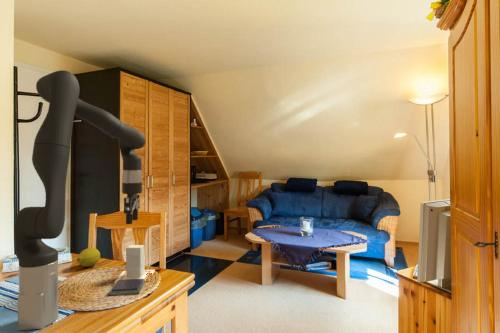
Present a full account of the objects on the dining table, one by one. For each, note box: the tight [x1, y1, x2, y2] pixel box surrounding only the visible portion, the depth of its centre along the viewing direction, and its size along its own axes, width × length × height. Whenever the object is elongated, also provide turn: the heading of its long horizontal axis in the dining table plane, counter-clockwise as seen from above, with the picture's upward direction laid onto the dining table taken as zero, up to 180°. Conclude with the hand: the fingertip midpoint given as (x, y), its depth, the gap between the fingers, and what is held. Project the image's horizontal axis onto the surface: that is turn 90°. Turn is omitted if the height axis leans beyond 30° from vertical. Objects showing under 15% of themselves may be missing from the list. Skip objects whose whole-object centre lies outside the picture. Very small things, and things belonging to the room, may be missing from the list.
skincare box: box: [125, 244, 146, 277], centre depth 118 cm, size 6×4×12 cm
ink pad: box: [108, 279, 146, 296], centre depth 107 cm, size 10×10×2 cm
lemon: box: [76, 247, 101, 268], centre depth 129 cm, size 11×8×8 cm
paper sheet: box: [113, 269, 156, 284], centre depth 118 cm, size 12×13×1 cm
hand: (132, 221), depth 117 cm, fingers open, 8 cm apart
